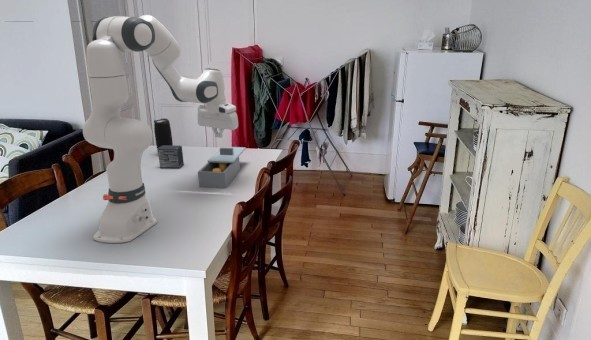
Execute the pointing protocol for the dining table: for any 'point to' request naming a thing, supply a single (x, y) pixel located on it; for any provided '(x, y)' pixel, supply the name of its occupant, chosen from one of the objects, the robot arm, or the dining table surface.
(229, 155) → the lid
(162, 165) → the small box
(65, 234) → the dining table surface
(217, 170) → the peg
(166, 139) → the portable speaker
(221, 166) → the seated jaw
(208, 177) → the block
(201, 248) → the dining table surface
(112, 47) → the robot arm
